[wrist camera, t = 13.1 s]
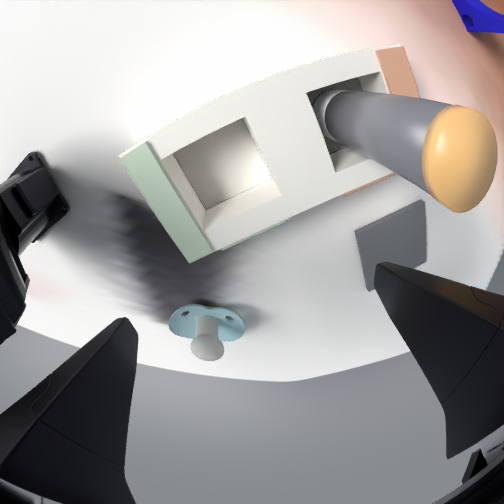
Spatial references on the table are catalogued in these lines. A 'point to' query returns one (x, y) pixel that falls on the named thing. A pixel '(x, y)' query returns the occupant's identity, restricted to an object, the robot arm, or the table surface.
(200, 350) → the pacifier
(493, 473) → the robot arm
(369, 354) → the table surface
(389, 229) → the mat
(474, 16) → the cable clip
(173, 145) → the socket panel
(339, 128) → the plug
